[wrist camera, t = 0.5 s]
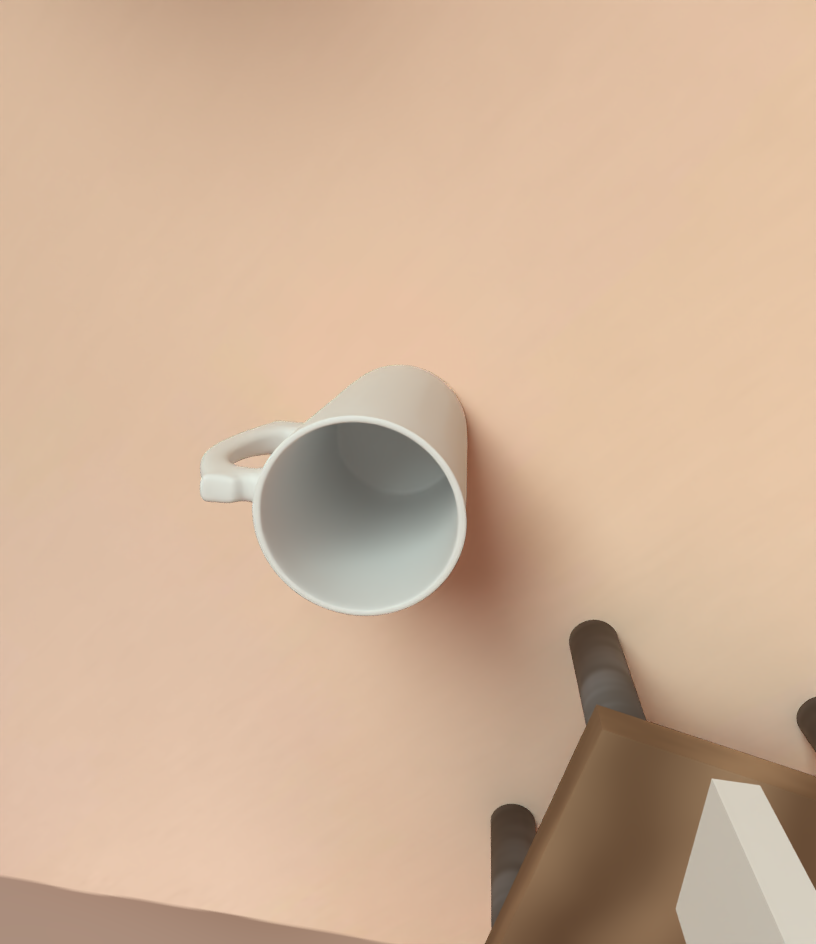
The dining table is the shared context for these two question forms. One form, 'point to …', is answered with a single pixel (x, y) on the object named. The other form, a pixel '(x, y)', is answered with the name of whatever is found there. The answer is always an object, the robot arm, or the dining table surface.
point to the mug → (357, 492)
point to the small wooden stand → (625, 818)
